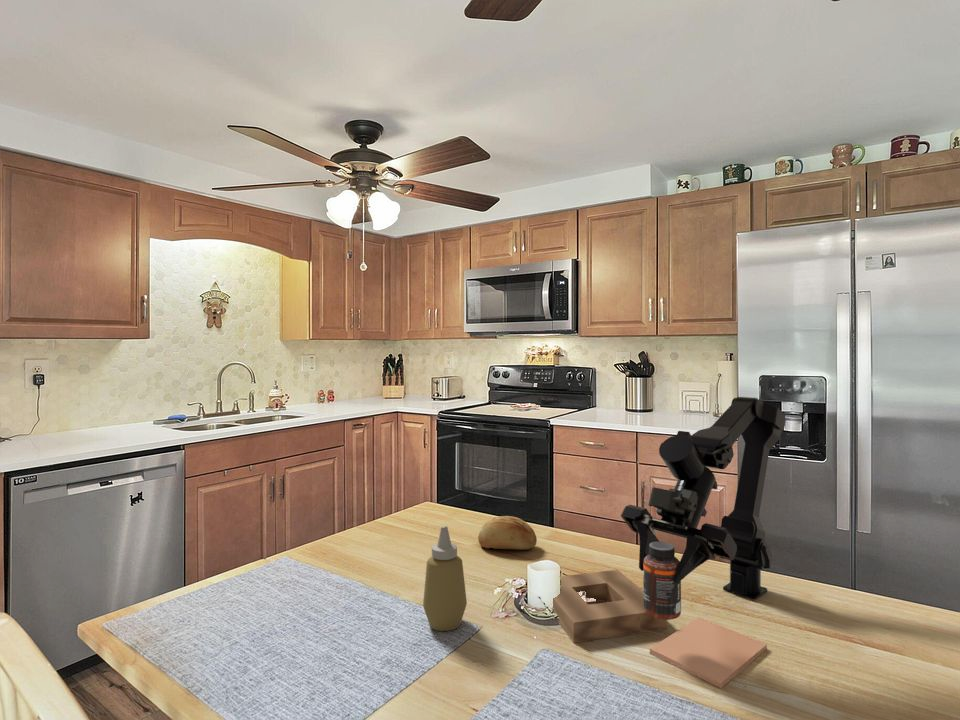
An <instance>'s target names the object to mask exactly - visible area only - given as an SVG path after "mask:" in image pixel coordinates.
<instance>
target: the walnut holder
mask: <svg viewBox="0 0 960 720" xmlns="http://www.w3.org/2000/svg"><path fill="white" fill-rule="evenodd" d="M580 591H585V592H586V597H587V598H594V599H596V602H601V603H596V602H595V603H592V604H589V603H586V602H585V601H584V600H583V599H582V598H581V596H580V595H579V594H578V593H577V592H580ZM603 601H607V602H603ZM553 608H554V611H555V613H556V614H557V615H558V616H559V620H560V621H559V623H558V624H559V626H560V627H561V629H563V631H564V632H565V633H566V635H567V636H568V638H569V639H570V640H571V641H572V643H573V644H575V643H580V642H588V641H594V640H601V639H607V638H608V639H609V638H614V637H615V638H616V637H621V636H626V635H628V636H629V635H634V634H641V633H647V632H648V633H649V632H654V631H660V630H661V631H662V630H666V629H667V620H661V619H657V618H654V617H652V616H650V615H649V614H647V613H646V611H645V610H644V589H642V588H640V587H639V586H638V585H637V584H636V583H635V582H633V581H632V580H631V579H630V578H628V577H627V576H626V575H625V574H623V572H621V571H620V570H618V569H612V570H605V571H603V570H602V571H596V572H594V571H593V572H587V573H585V572H584V573H579V574H577V573H576V574H570V575H569V574H568V575H561V591H560V594H559V595H558V596H557V597H555V598H553Z"/></svg>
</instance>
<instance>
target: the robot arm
mask: <svg viewBox="0 0 960 720" xmlns="http://www.w3.org/2000/svg"><path fill="white" fill-rule="evenodd" d="M786 423H787V421H786V416H785V413H784V412H783V411H782V410H780V408H779V407H776V406H774V405H772V404H768V403H766V402H764V401H762V400H761V399H759V398H757V397H748V396H737V397H734V398H733V399H732V400H731V404H730V405H729V407H728V408H726V410H725V411H724V412H723V413H722V414H721V415H720V417H719V418H718V419H717V420H716V421H715V422H714V423H713V424H712V425H711V426H710V427H707V428H703V429H699V430H697V431H695V432H694V433H692V434H691V433H690V431H685V430H678V431H677V433H676V435H672V436H670V437H668V438H666V439H665V440H664V441H663V442H661V443H660V445H659V448H658V449H659V450H658V453H659V456H660V458H661V459H662V461H663V462H664V464H665V465H666V467H667V469H668V471H669V472H670V474H671V475H672V476H673V477H674V479H676V480H677V481H676V483H675V486H674V488H669V489H663V488H661V487H660V488H658V487H651V491H650V496H649V501H648V506H649V507H653V508H656V511H655V512H656V513H657V515H658V516H660V517H661V519H660V518H657V517H653V516H652V514H651V513H650V512H649V510H648V509H647V508H645V507H641V506H637V505H633V504H628V505H626V506H625V507H624V508H623V510H622V511H621V514H620V517H621V519H622V520H623V521H624V523H626V525H627V526H628V527H629V528H630V530H631V532H633V533H635V534H638V536H639V537H638V538H639V556H638V557H639V558H638V560H639V561H638V568H639V570H640V571H642V572H643V562H644V558H645V557H646V556H647V555H648V554H649V544H650V543H652V542H661V541H660V540H659V539H658V537H657V536H656V533H657V532H659V531H660V532H662V533H666V534H670V535H673V536H677V537H681V538H683V539H686V542H685V543H686V544H685V548H684V551H683V554H682V556H681V558H680V560H679V561H680V563H679V565H678V567H677V570H676V573H675V576H674V581H675V582H676V583H679V582H680V581H681V582H682V580H683V579H685V578H686V577H687V576H689V574H691V573H692V572H693V571H694V570H696V569H697V568H698V567H699V566H701V565H702V564H704V563H706V562H707V561H710V560H713V561H714V560H716V557H719V558H720V559H723V560H727V561H729V583H727V584H724V585H723V587H722V589H723V591H726V592H729V593H733V594H735V595H738V596H741V597H743V598H746V599H750V600H753V601H756V600H757V599H758V598H760V597H761V596H762V595H764V594H766V593H767V592H768V588H767V587H765V586H762V584H761V581H762V579H761V578H762V577H761V576H762V574H761V572H762V571H763V570H764V569H767V570H768V569H769V570H770V569H771V568H772V567H771V565H772V561H773V559H772V558H773V557H772V556H773V553H772V551H771V548H770V547H769V545H768V544H767V541H766V531H765V529H764V527H763V524H762V522H761V520H760V512H761V511H760V509H761V506H762V499H763V492H764V485H765V482H766V481H765V479H766V475H767V468H768V462H769V455H770V450H771V449H772V448H773V447H774V446H775V445H776V444H777V443H778V442H779V440H780V439H781V436H782V432H783V430H784V429H785V426H786ZM740 437H742V439H743V442H744V447H743V448H744V449H743V454H742V460H741V464H740V471H739V476H738V477H739V478H738V482H737V487H736V488H737V489H736V494H735V499H734V505H733V510H732V511H731V512H730V513H729V514H728V515H723V517H722V518H721V524H720V525H715V524H711V523H703V524H702V525H701V527H700V529H699V528H698V526H699V524H700V522H701V518H702V517H704V518H705V517H706V516H707V513H708V512H707V509H706V505H707V502H708V500H709V498H710V494H711V492H712V490H718V482H717V480H716V479H717V478H716V477H715V474H714V473H713V471H712V470H711V469H716V470H717V469H718V470H726V468H727V467H728V466H729V464H731V462H732V460H733V458H734V449H733V446H734V444H735V443H736V442H737V440H738V439H739V438H740ZM710 468H711V469H710Z"/></svg>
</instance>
